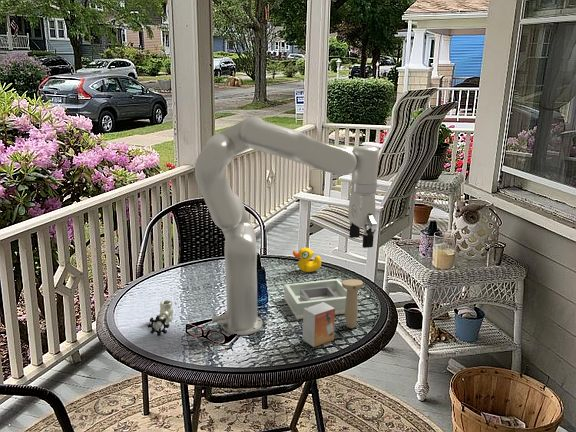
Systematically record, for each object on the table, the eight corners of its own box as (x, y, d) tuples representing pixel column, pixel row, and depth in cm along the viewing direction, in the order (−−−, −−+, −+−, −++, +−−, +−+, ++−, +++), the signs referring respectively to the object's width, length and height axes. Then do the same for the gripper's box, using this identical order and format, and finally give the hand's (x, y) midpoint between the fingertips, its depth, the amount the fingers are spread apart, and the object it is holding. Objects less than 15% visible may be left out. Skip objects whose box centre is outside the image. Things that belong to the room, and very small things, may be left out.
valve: (158, 317, 173) (147, 336, 162) (157, 299, 171) (146, 316, 160) (178, 318, 173) (169, 336, 161) (177, 299, 171) (168, 316, 159)
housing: (297, 319, 172) (297, 303, 171) (284, 298, 187) (284, 284, 186) (354, 312, 177) (355, 297, 176) (337, 292, 192) (338, 278, 191)
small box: (313, 348, 155) (314, 315, 152) (302, 340, 159) (302, 308, 156) (334, 340, 159) (335, 308, 157) (322, 332, 164) (323, 301, 161)
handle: (362, 329, 166) (364, 285, 162) (342, 330, 165) (344, 286, 161) (358, 322, 170) (360, 278, 166) (339, 323, 170) (340, 279, 165)
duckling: (293, 274, 209) (293, 250, 206) (292, 269, 214) (292, 246, 211) (322, 273, 210) (322, 249, 207) (320, 268, 215) (320, 245, 212)
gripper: (341, 182, 166) (338, 234, 170) (364, 195, 150) (361, 252, 154) (363, 181, 168) (360, 232, 172) (388, 193, 152) (384, 250, 156)
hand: (360, 242), depth 163 cm, fingers open, 9 cm apart
